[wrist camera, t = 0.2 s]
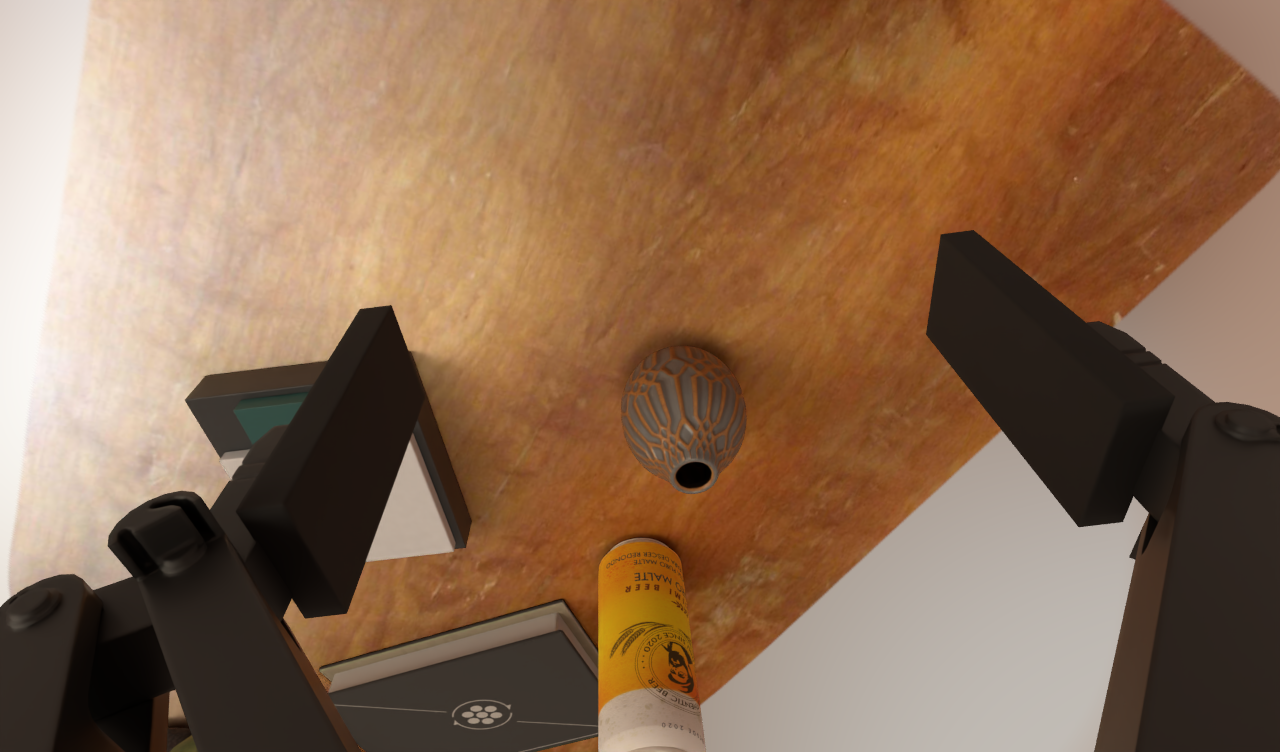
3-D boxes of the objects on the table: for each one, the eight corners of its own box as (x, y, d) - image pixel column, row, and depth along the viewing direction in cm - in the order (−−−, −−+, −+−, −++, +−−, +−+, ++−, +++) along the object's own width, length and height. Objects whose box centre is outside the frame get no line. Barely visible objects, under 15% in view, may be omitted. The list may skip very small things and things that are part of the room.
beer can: (697, 551, 49) (730, 764, 37) (649, 597, 52) (665, 810, 39) (628, 521, 47) (639, 736, 34) (582, 570, 49) (577, 786, 37)
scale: (205, 375, 38) (174, 411, 36) (410, 350, 38) (395, 384, 35) (301, 540, 46) (281, 580, 43) (471, 521, 46) (463, 560, 43)
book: (414, 751, 62) (406, 785, 60) (318, 667, 54) (305, 702, 52) (630, 696, 59) (632, 730, 57) (563, 598, 51) (561, 632, 49)
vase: (637, 315, 38) (646, 409, 30) (750, 341, 39) (785, 436, 32) (607, 410, 41) (608, 514, 34) (711, 431, 43) (734, 535, 35)
